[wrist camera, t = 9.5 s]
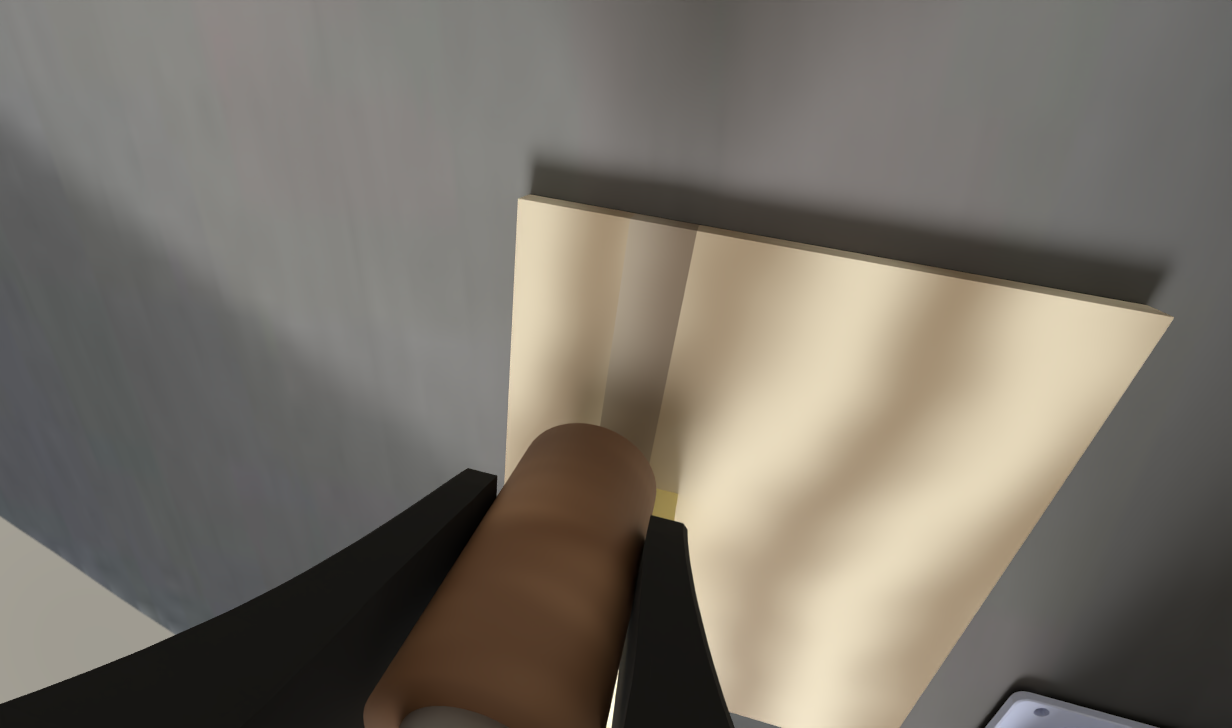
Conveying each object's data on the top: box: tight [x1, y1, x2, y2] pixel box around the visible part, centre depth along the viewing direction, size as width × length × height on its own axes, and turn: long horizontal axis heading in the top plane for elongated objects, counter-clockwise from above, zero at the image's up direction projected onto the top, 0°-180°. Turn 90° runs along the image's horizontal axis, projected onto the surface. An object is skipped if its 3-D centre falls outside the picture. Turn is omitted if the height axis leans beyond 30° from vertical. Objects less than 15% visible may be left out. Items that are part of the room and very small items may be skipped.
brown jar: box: [363, 423, 656, 728], centre depth 8 cm, size 3×3×6 cm
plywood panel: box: [504, 194, 1174, 728], centre depth 20 cm, size 18×21×1 cm
